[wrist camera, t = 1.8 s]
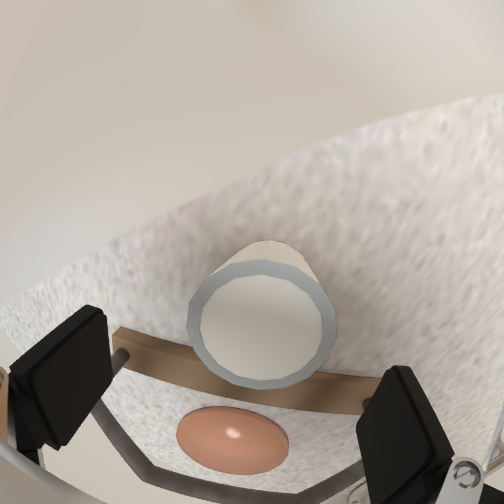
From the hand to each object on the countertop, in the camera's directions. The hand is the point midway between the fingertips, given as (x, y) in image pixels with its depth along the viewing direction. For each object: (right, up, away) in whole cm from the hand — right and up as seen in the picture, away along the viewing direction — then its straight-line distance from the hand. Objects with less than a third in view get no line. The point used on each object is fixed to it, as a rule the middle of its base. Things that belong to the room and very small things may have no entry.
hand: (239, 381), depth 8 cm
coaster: (-2, -15, +15) cm, 21 cm away
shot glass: (+2, +2, +11) cm, 11 cm away
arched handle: (0, -6, +13) cm, 14 cm away
